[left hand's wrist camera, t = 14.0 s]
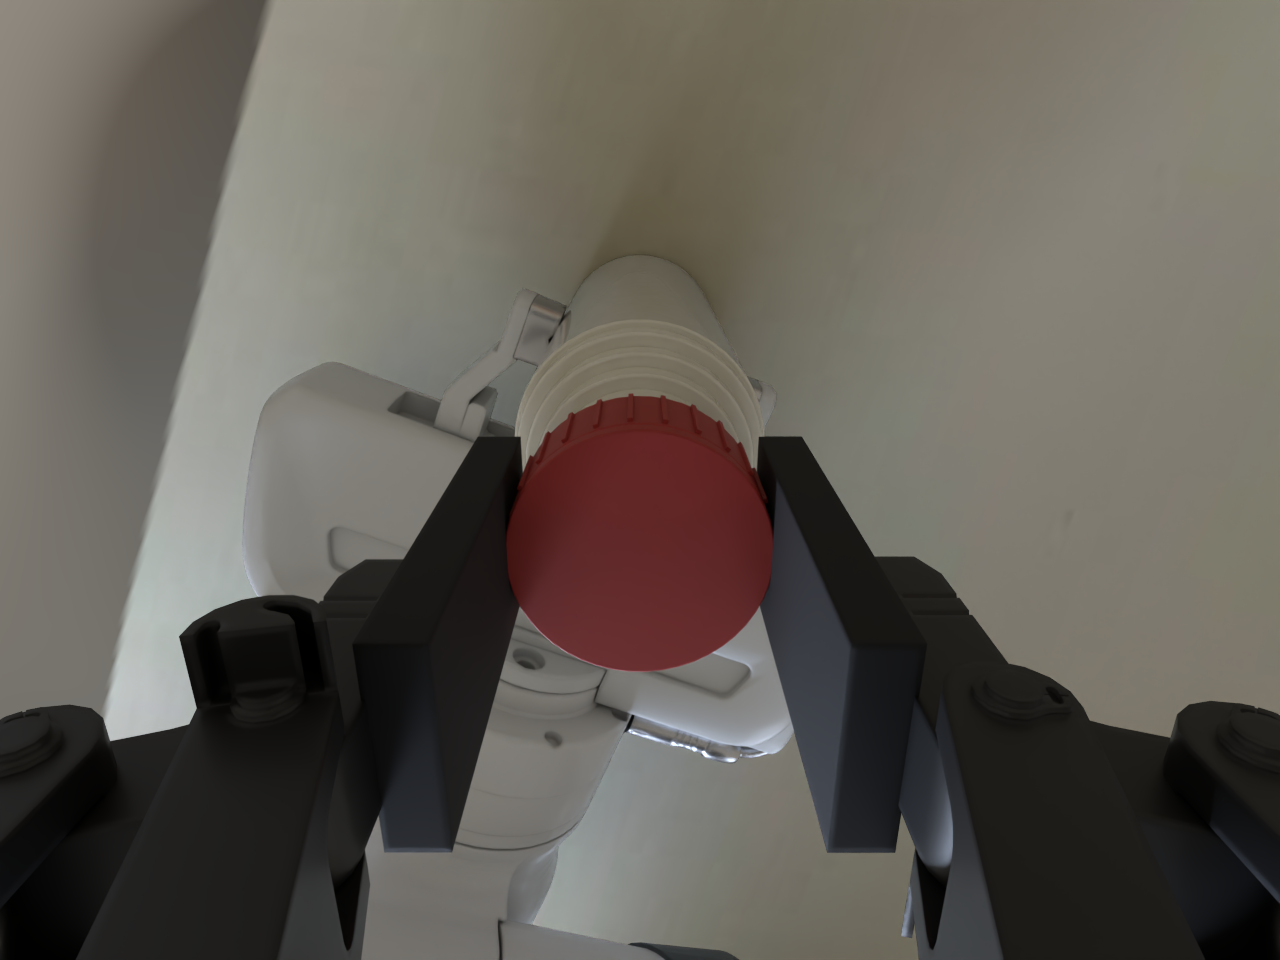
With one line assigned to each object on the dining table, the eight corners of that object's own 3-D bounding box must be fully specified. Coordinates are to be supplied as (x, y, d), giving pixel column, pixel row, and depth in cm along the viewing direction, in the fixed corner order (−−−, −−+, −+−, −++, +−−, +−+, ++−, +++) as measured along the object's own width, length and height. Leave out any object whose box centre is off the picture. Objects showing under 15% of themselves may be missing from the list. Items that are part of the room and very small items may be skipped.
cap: (469, 474, 14) (443, 520, 12) (679, 342, 13) (686, 370, 11) (604, 651, 15) (601, 716, 14) (804, 541, 14) (827, 595, 13)
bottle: (546, 282, 30) (411, 443, 12) (687, 234, 29) (760, 330, 12) (595, 418, 32) (540, 724, 14) (729, 374, 31) (847, 640, 13)
